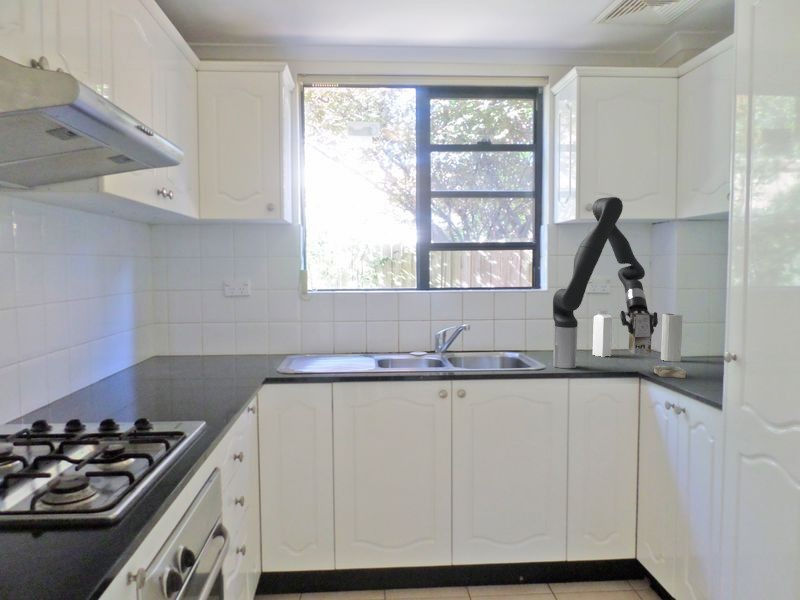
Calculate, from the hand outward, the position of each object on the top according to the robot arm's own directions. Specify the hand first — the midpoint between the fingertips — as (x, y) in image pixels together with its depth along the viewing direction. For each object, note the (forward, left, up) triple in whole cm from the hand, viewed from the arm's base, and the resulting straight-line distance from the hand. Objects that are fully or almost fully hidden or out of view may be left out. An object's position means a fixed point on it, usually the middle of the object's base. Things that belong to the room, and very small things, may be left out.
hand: (641, 333), depth 202 cm
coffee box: (0, +2, -9) cm, 9 cm away
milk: (-8, +40, -17) cm, 44 cm away
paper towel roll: (+20, +34, -17) cm, 43 cm away
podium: (+11, +1, -16) cm, 20 cm away
